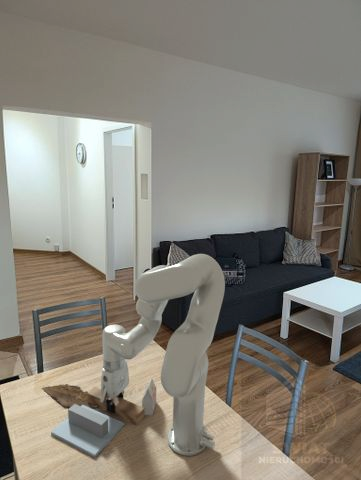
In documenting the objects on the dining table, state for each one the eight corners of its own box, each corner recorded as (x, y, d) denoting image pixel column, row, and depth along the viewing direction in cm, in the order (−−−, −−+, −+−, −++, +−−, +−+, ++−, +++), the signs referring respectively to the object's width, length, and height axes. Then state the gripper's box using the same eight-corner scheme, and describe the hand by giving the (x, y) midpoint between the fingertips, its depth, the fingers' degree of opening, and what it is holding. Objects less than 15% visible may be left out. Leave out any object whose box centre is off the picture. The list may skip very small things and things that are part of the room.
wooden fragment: (107, 398, 121) (107, 396, 121) (87, 418, 111) (87, 415, 111) (55, 379, 132) (55, 376, 131) (33, 395, 122) (33, 393, 122)
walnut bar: (144, 417, 112) (144, 407, 111) (137, 425, 109) (137, 415, 108) (95, 396, 122) (95, 386, 121) (87, 402, 119) (87, 392, 118)
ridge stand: (123, 425, 108) (123, 409, 107) (95, 457, 96) (94, 440, 95) (82, 407, 116) (82, 392, 115) (51, 434, 104) (50, 418, 103)
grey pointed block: (142, 414, 114) (142, 389, 111) (146, 401, 120) (146, 376, 118) (152, 415, 113) (152, 390, 111) (156, 402, 120) (156, 377, 118)
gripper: (107, 377, 102) (108, 427, 106) (137, 352, 117) (137, 397, 121) (88, 370, 106) (90, 419, 110) (120, 346, 120) (121, 390, 124)
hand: (115, 407), depth 115 cm, fingers closed on walnut bar, 4 cm apart
